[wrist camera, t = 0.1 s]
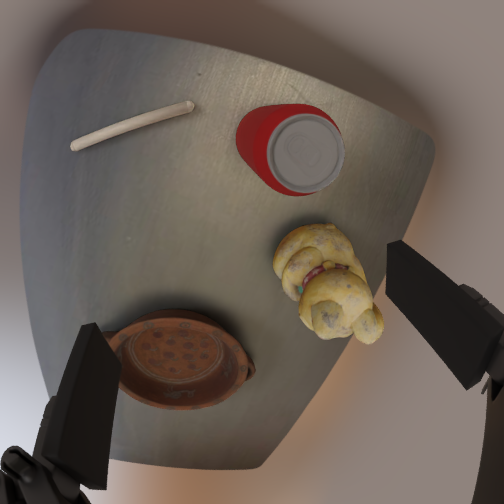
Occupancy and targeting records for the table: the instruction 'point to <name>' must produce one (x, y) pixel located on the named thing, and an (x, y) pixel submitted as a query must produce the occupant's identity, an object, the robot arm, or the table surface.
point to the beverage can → (291, 147)
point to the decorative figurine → (327, 283)
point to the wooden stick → (132, 124)
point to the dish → (179, 360)
